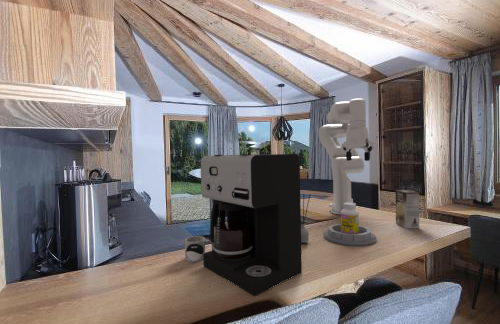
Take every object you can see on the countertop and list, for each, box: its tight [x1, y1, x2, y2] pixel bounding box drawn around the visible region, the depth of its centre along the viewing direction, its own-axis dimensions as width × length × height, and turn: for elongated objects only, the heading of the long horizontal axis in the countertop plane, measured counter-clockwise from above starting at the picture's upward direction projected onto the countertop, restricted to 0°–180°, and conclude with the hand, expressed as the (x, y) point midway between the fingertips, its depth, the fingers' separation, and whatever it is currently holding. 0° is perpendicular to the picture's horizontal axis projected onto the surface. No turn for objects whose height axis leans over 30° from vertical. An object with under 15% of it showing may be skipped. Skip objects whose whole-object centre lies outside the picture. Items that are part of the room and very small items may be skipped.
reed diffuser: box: [301, 194, 311, 244], centre depth 103 cm, size 10×7×20 cm
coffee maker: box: [200, 153, 303, 297], centre depth 81 cm, size 28×20×35 cm
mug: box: [184, 235, 214, 263], centre depth 91 cm, size 10×7×7 cm
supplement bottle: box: [340, 202, 359, 234], centre depth 108 cm, size 7×7×13 cm
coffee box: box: [395, 189, 420, 229], centre depth 123 cm, size 9×6×16 cm
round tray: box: [323, 223, 378, 247], centre depth 108 cm, size 20×20×4 cm
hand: (357, 160), depth 129 cm, fingers open, 9 cm apart
